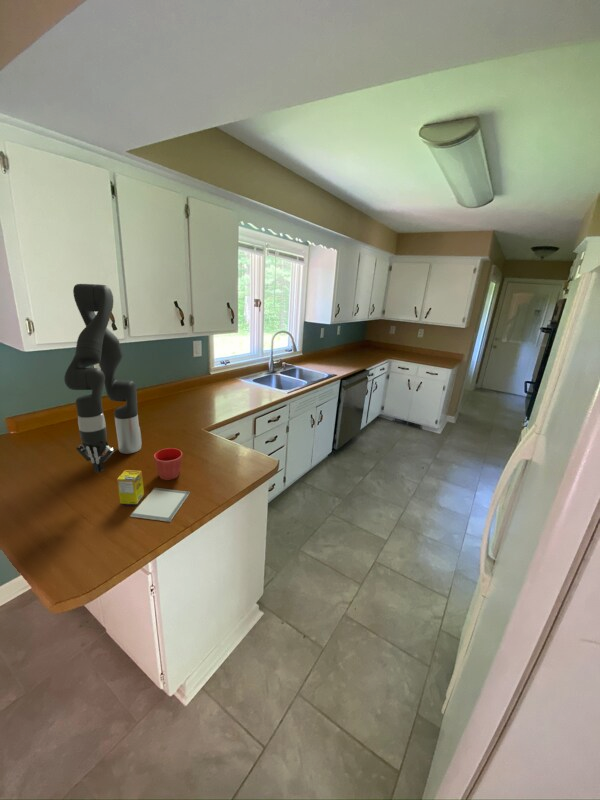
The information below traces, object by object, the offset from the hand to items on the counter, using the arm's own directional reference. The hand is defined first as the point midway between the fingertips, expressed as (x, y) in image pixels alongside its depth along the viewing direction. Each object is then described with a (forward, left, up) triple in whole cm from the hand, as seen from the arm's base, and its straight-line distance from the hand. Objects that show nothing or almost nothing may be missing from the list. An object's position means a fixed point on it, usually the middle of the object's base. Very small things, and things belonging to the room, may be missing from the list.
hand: (99, 471), depth 111 cm
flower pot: (-18, +16, -11) cm, 27 cm away
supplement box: (0, +11, -11) cm, 16 cm away
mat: (0, +22, -11) cm, 25 cm away
